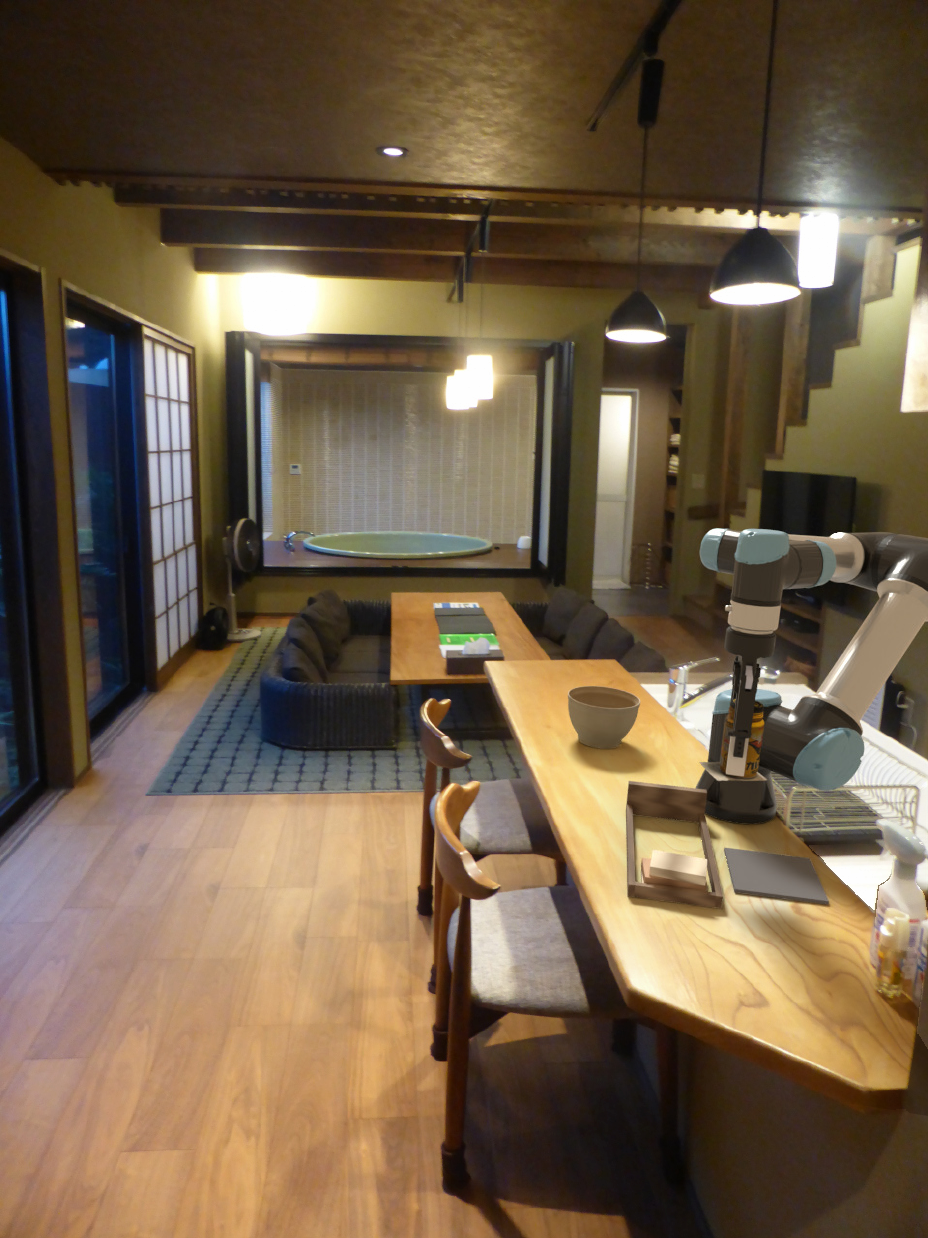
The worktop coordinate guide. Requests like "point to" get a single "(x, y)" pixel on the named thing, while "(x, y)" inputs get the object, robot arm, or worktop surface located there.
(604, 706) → the planter bowl
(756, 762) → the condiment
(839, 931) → the worktop surface
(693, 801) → the tray
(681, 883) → the offcut stack
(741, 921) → the worktop surface
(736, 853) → the slate mat
